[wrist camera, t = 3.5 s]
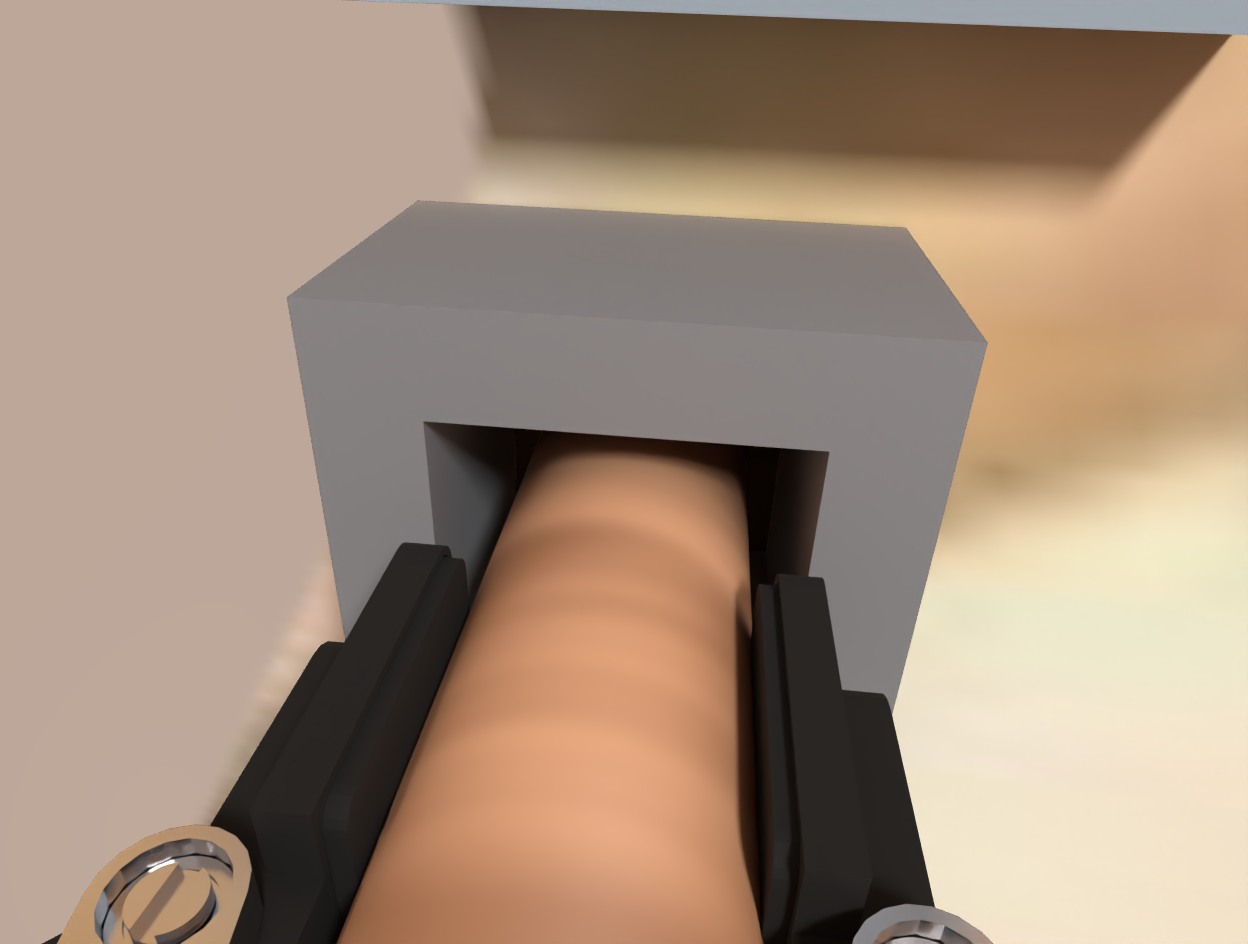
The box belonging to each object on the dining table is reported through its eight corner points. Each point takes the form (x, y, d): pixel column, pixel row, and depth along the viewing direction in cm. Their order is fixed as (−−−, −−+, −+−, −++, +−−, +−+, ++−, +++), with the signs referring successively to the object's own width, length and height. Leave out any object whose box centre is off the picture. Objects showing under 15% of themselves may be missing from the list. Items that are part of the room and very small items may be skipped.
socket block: (830, 617, 18) (863, 822, 14) (451, 584, 18) (367, 770, 14) (905, 227, 14) (987, 342, 10) (417, 201, 14) (287, 297, 10)
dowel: (734, 518, 17) (747, 1377, 7) (552, 504, 17) (290, 1307, 7) (753, 346, 15) (814, 1155, 5) (550, 333, 15) (190, 1070, 5)
